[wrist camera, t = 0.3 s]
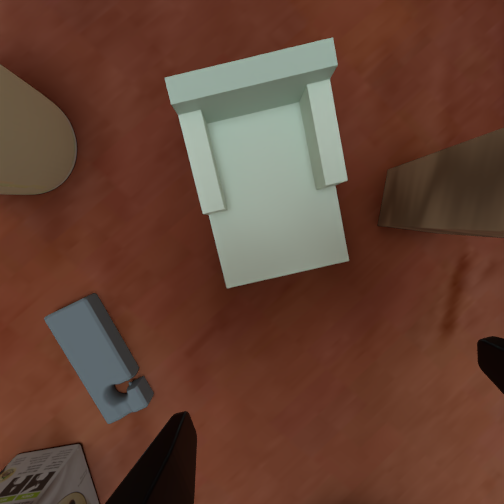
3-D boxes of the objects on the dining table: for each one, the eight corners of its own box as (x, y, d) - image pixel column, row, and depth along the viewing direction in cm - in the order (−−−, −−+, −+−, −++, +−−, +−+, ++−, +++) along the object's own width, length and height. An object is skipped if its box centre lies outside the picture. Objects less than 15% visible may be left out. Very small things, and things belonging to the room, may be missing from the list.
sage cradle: (344, 258, 22) (373, 270, 17) (227, 285, 22) (221, 304, 17) (311, 82, 20) (332, 37, 15) (185, 113, 20) (164, 77, 15)
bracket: (98, 290, 22) (83, 297, 20) (157, 391, 23) (148, 407, 21) (59, 309, 22) (40, 318, 20) (119, 409, 24) (106, 426, 22)
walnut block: (436, 233, 21) (699, 251, 9) (377, 225, 21) (559, 233, 9) (448, 177, 21) (744, 115, 8) (387, 169, 21) (597, 93, 8)
